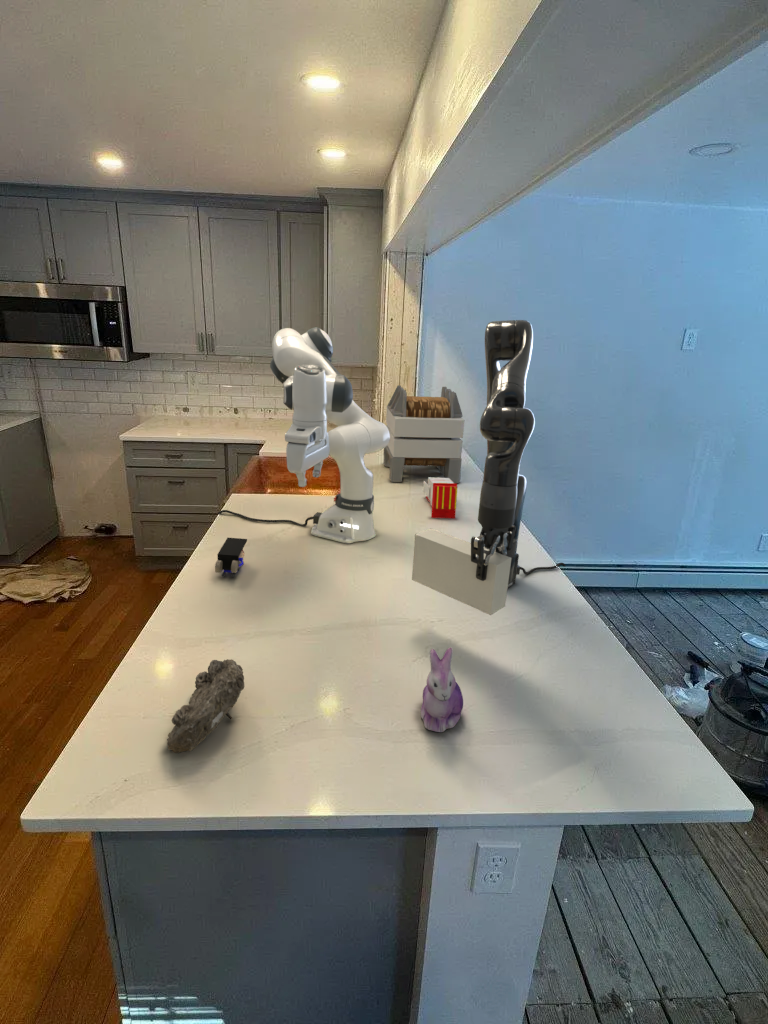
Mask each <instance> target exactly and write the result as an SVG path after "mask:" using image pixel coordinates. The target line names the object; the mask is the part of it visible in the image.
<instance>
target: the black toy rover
mask: <svg viewBox="0 0 768 1024" xmlns="http://www.w3.org/2000/svg"><path fill="white" fill-rule="evenodd" d="M247 542H248V538H240V537H226V539H225V541H224V543H223V544H222V546H221V547H220V549H219V551H218V552H217V560H216V562H215V564H214V572H215V573H221V577H222V578H224V577H225V576H226V574H227V573H230V574H231V573H232V574H231V578H234V577H235V575H236V573H237V572H239V571H240V567H242V566H243V565H244V564H245V562H244V558H245V551H244V547H245V546H246V544H247Z"/></svg>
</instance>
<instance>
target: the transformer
mask: <svg viewBox="0 0 768 1024" xmlns="http://www.w3.org/2000/svg"><path fill="white" fill-rule="evenodd" d="M440 393H441V394H440V396H415V395H414V396H413V395H412V396H411V395H407V394H408V393H407V390H406V389H404V388H403V387H402V385H399V384H398V385H397V386H396V388H395V390H394V392H393V394H392V395H391V398H390V400H389V402H388V404H387V405H386V413H385V414H386V415H385V423H386V426H387V428H388V430H389V434H390V440H389V443H388V445H387V446H386V447H385V448H383V466H384V467H388V468H389V475H388V476H389V477H388V478H389V480H390V482H391V483H402V482H403V475H404V469H405V466H406V467H407V466H411V467H412V466H413V467H415V466H416V467H417V466H418V467H436V468H437V470H438V469H439V473H440V474H441V475H443V478H449V479H450V480H451V481H452V482H453V483H454V484H459V483H461V472H462V461H463V460H462V453H463V442H464V441H463V440H462V439H463V438H464V431H465V430H464V429H465V419H464V418H463V411H462V408H461V405H460V402H459V398H458V395H457V392H455V391H453V390H452V389H451V388H447V386H442V387H441V392H440Z"/></svg>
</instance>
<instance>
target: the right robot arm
mask: <svg viewBox="0 0 768 1024" xmlns="http://www.w3.org/2000/svg"><path fill="white" fill-rule="evenodd" d="M484 330H485V331H484V357H485V371H486V374H485V375H486V406H485V408H484V410H483V412H482V414H481V417H480V420H479V432H480V434H481V435H482V437H483V438H484V439H485V440H486V454H487V455H486V456H485V461H484V468H483V477H482V484H481V488H480V495H479V503H478V514H477V522H478V523H479V524H480V526H481V530H480V534H479V536H477V537H476V536H471V538H470V543H471V562H474V563H476V564H477V569H476V578H477V579H479V580H482V581H484V580H486V576H487V567H488V565H487V564H488V562H489V559H490V556H492V555H493V554H494V552H497V553H500V554H502V555H505V556H508V557H511V558H512V559H511V566H510V573H509V581H508V588H510V587H512V585H515V584H516V579H517V576H519V575H520V572H523V574H524V575H527V576H528V575H531V573H533V572H535V571H539V570H554V569H557V568H558V567H560V566H563V567H566V566H567V565H566V564H565V563H564V562H559V563H557V564H555V565H556V566H557V567H556V566H555V565H552V566H538V567H534V568H531V569H530V570H528V571H527V570H526V569H525V568H524V567H522V566H520V565H519V559H520V554H519V553H518V552H517V550H518V544H519V543H518V542H519V534H520V527H521V522H522V515H523V511H524V504H525V500H526V493H527V486H528V482H527V477H525V475H523V474H520V469H521V462H522V459H523V456H524V453H525V450H526V448H527V445H528V443H529V441H530V439H531V437H532V435H533V432H534V429H535V425H536V419H535V415H534V413H533V412H532V410H531V409H529V408H528V407H525V404H526V390H527V389H526V387H527V385H526V384H527V377H528V371H529V368H530V363H531V359H532V353H533V348H534V347H533V344H534V330H533V326H532V324H531V322H530V321H528V320H525V319H511V320H509V319H508V320H494V321H489V322H488V323H487V325H486V327H485V329H484ZM500 362H507V363H505V364H504V365H503V366H502V367H501V366H500V365H501V364H500ZM484 548H486V549H489V551H487V550H484ZM484 553H485V554H486V556H485V559H484ZM476 554H477V557H476Z"/></svg>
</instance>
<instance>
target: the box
mask: <svg viewBox="0 0 768 1024" xmlns="http://www.w3.org/2000/svg"><path fill="white" fill-rule="evenodd" d="M484 550H487V551H489V549H486V548H484ZM485 556H486V554H485V553H484V559H485ZM476 557H477V554H476ZM511 559H512V558H511V557H508V556H505V555H502V554H500V553H497V552H494V554H493V555H492V556H490V559H489V562H488V564H487V565H488V567H487V576H486V580H484V581H482V580H479V579H477V578H476V569H477V564H476V563H474V562H471V541H470V542H469V541H467V540H464V539H461V538H459V537H455V536H453V535H450V534H448V533H445V532H442V531H439V530H437V529H434V528H428V529H424V530H421V531H420V532H417V533H415V534H414V543H413V559H412V571H411V580H412V581H414V582H416V583H417V584H421V585H422V586H425V587H426V588H429V589H431V590H434V591H436V592H437V593H440V594H443V595H445V596H447V597H449V598H451V599H453V600H456V601H458V602H460V603H463V604H465V605H466V606H468V607H471V608H473V609H475V610H477V611H480V612H482V613H485V614H487V615H488V616H492V615H493V614H495V613H497V612H498V611H500V610H501V609H503V608H505V607H506V602H507V595H508V588H509V587H508V581H509V573H510V566H511Z"/></svg>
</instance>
